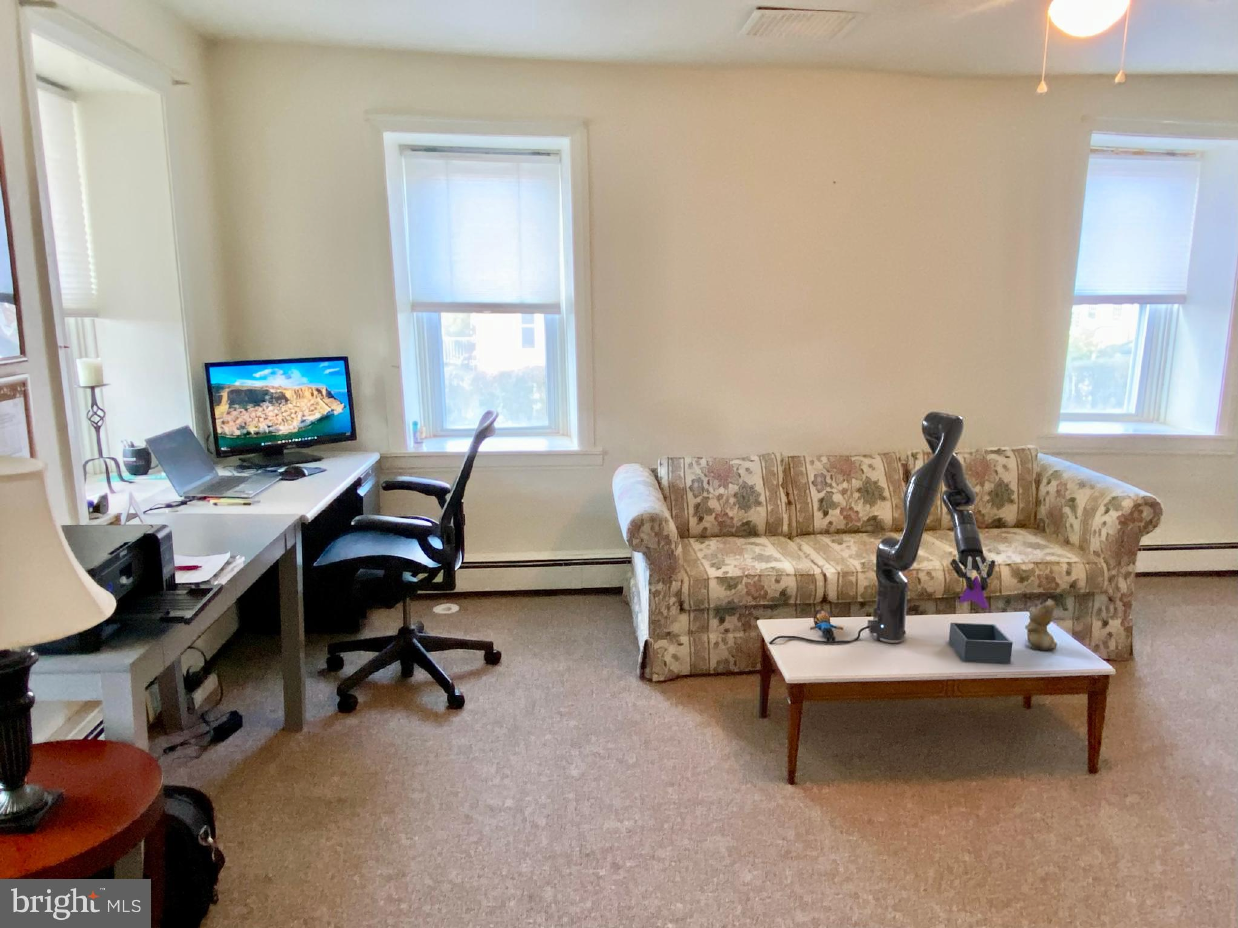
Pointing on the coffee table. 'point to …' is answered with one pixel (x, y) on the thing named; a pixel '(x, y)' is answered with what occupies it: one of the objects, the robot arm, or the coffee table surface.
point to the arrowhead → (975, 594)
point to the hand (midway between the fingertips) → (978, 589)
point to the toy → (824, 624)
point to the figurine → (1041, 627)
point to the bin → (980, 643)
